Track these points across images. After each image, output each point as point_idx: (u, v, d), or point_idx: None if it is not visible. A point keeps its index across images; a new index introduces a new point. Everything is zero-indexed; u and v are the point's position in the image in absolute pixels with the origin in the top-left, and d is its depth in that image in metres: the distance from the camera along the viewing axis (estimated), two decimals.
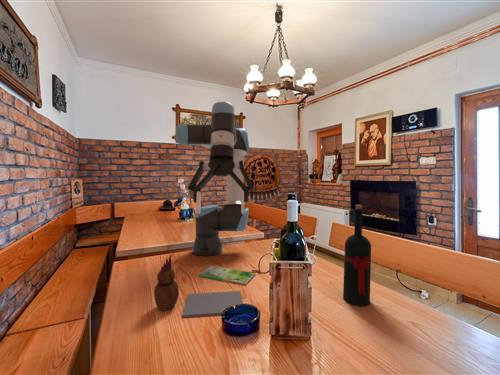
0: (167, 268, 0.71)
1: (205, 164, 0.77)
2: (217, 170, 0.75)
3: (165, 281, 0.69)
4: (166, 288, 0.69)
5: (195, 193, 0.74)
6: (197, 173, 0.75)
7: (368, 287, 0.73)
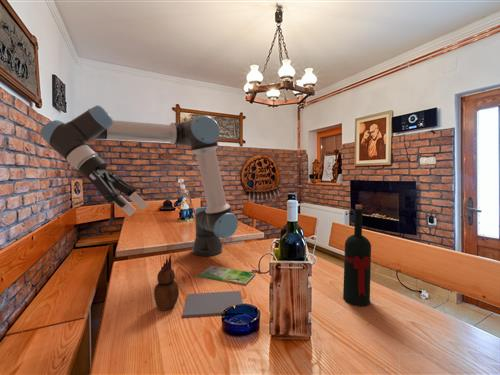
0: (167, 268, 0.71)
1: None
2: None
3: (165, 281, 0.69)
4: (166, 288, 0.69)
5: None
6: None
7: (368, 287, 0.73)
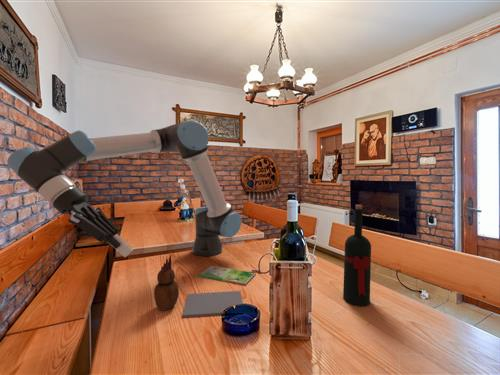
0: (167, 268, 0.71)
1: None
2: None
3: (165, 281, 0.69)
4: (166, 288, 0.69)
5: None
6: None
7: (368, 287, 0.73)
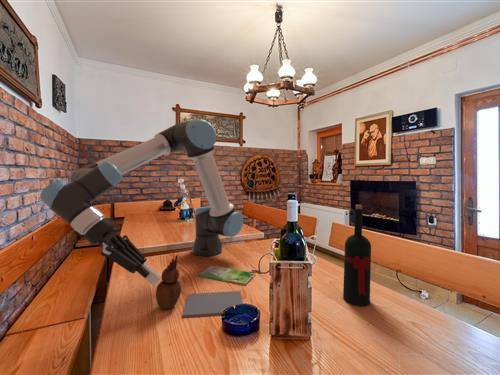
0: (172, 267, 0.71)
1: None
2: None
3: (169, 280, 0.69)
4: (169, 287, 0.69)
5: None
6: None
7: (368, 287, 0.73)
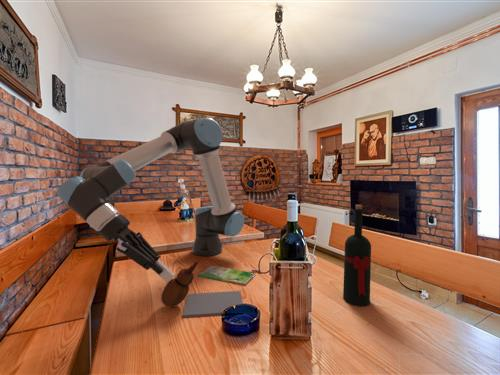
0: (190, 271, 0.72)
1: None
2: None
3: (183, 282, 0.69)
4: (181, 289, 0.69)
5: None
6: None
7: (368, 287, 0.73)
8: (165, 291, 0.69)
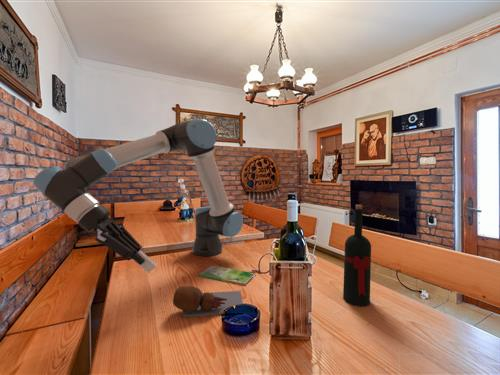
0: None
1: None
2: None
3: (203, 309, 0.68)
4: None
5: None
6: None
7: (368, 287, 0.73)
8: (185, 302, 0.66)
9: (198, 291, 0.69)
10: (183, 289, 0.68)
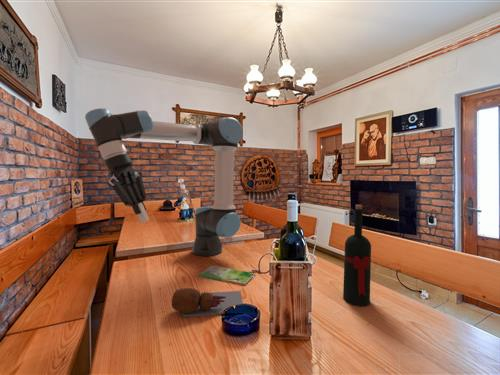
0: None
1: None
2: None
3: (202, 309, 0.68)
4: None
5: None
6: None
7: (368, 287, 0.73)
8: (184, 304, 0.66)
9: (196, 292, 0.69)
10: (180, 291, 0.68)
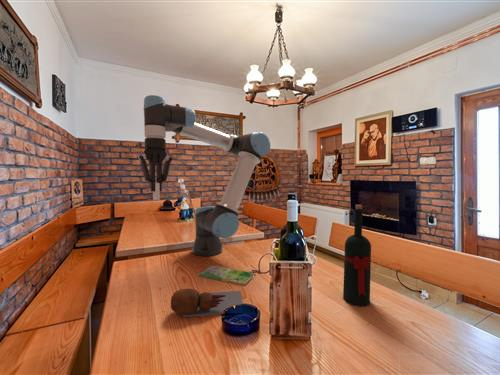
0: None
1: None
2: None
3: None
4: None
5: None
6: None
7: (368, 287, 0.73)
8: (183, 307, 0.65)
9: (194, 293, 0.68)
10: (179, 294, 0.67)
